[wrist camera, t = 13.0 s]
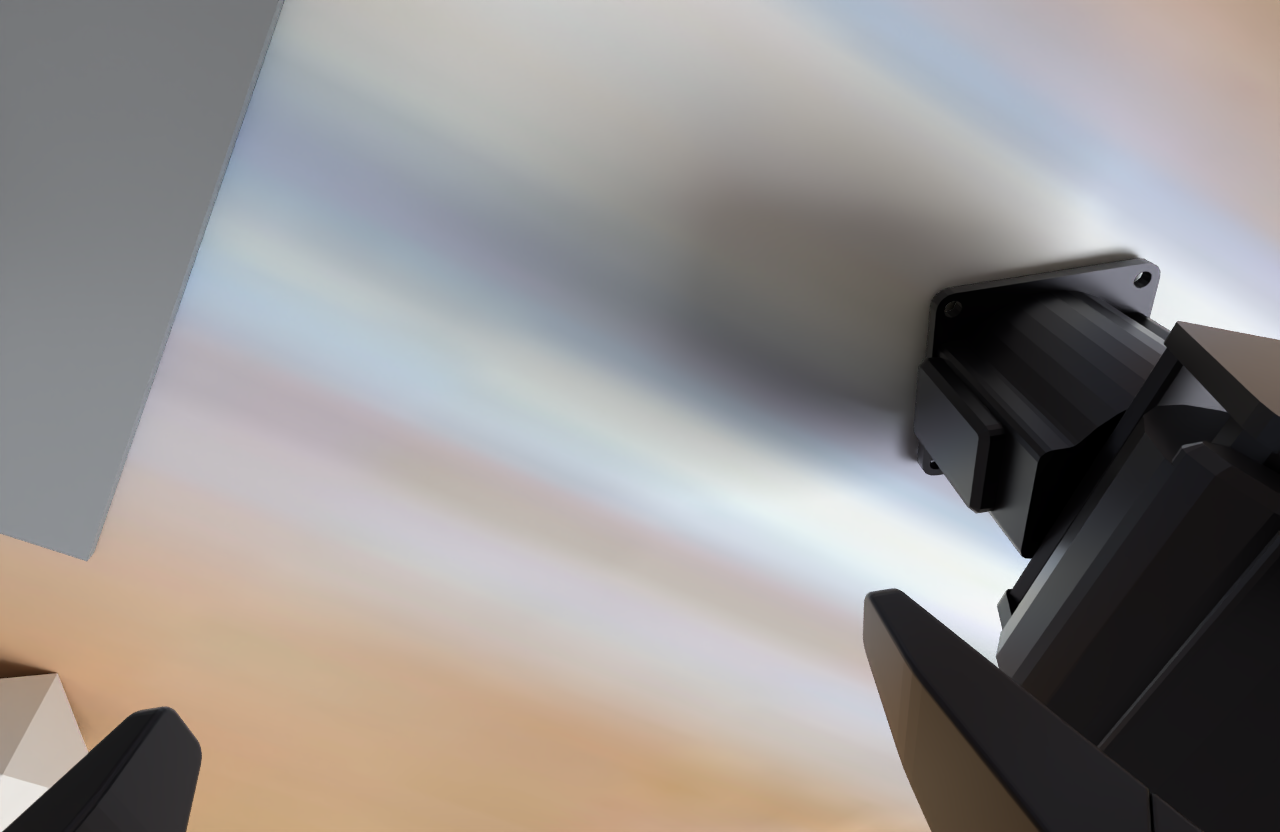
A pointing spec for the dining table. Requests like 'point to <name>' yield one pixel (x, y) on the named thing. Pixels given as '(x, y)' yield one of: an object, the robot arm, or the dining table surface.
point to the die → (34, 741)
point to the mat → (103, 228)
